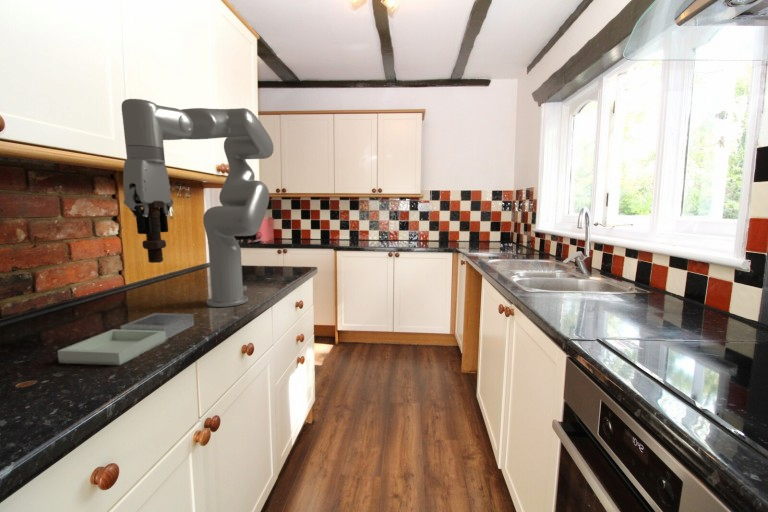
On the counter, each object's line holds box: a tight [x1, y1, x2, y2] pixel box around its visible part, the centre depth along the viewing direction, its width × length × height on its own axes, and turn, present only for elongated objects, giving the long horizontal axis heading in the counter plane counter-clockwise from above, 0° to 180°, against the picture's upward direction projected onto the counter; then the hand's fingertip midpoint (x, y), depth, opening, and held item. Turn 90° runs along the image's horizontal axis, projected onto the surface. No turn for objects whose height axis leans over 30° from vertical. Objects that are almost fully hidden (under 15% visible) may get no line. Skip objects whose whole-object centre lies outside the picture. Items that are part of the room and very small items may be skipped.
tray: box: [57, 328, 167, 366], centre depth 76 cm, size 13×13×2 cm
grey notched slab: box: [120, 312, 195, 340], centre depth 89 cm, size 11×11×3 cm
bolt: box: [139, 201, 167, 264], centre depth 87 cm, size 6×5×15 cm
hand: (153, 232), depth 87 cm, fingers closed on bolt, 4 cm apart
